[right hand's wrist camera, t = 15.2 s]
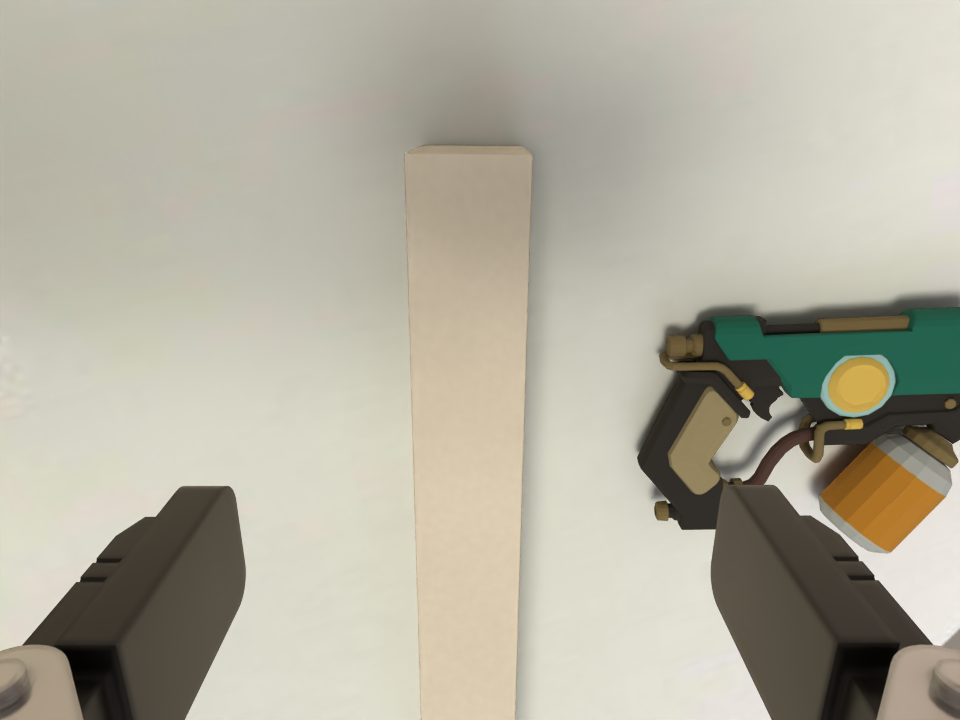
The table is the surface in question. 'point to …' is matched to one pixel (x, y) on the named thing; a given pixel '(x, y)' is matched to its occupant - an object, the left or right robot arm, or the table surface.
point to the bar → (468, 418)
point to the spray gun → (817, 414)
